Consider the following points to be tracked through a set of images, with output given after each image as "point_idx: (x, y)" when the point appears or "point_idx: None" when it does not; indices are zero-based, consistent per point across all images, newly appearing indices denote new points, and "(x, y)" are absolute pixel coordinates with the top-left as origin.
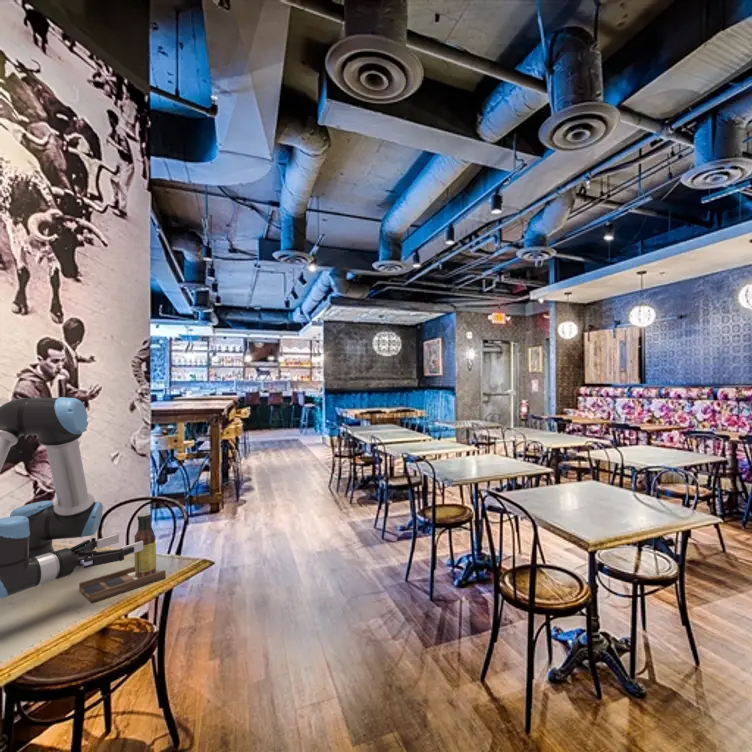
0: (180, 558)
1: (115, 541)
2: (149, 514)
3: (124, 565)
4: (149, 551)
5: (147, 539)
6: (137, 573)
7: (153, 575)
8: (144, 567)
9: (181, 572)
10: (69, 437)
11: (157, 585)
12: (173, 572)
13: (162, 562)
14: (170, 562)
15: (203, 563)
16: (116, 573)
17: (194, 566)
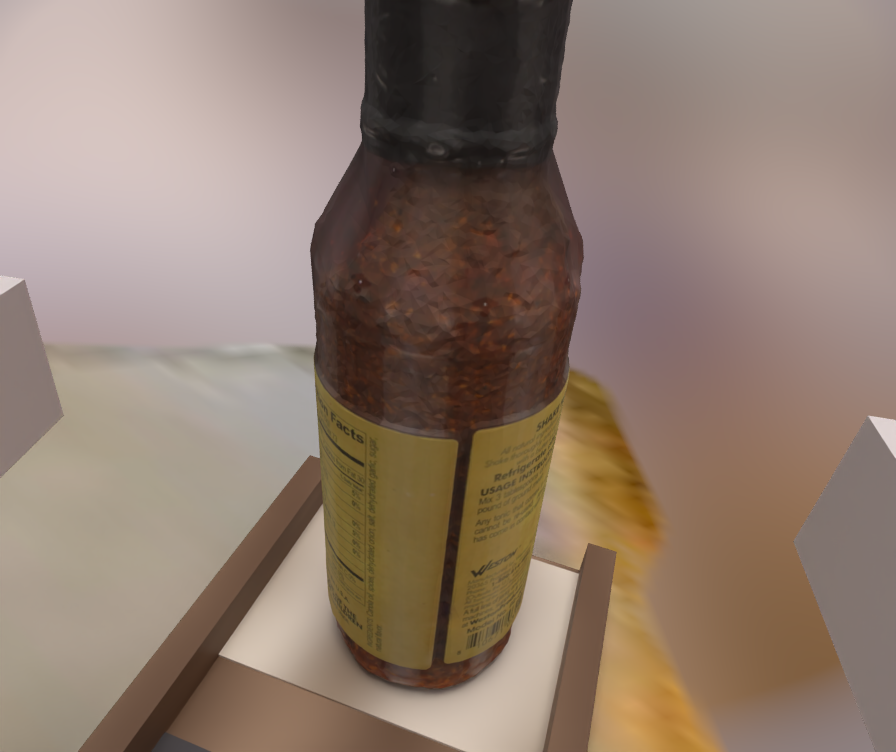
0: None
1: (14, 422)
2: None
3: (9, 501)
4: (552, 450)
5: (570, 322)
6: (417, 667)
7: (600, 645)
8: (504, 608)
9: (603, 494)
10: None
11: (678, 720)
12: (548, 506)
13: (315, 415)
14: None
15: (599, 385)
16: (140, 733)
17: (590, 419)
